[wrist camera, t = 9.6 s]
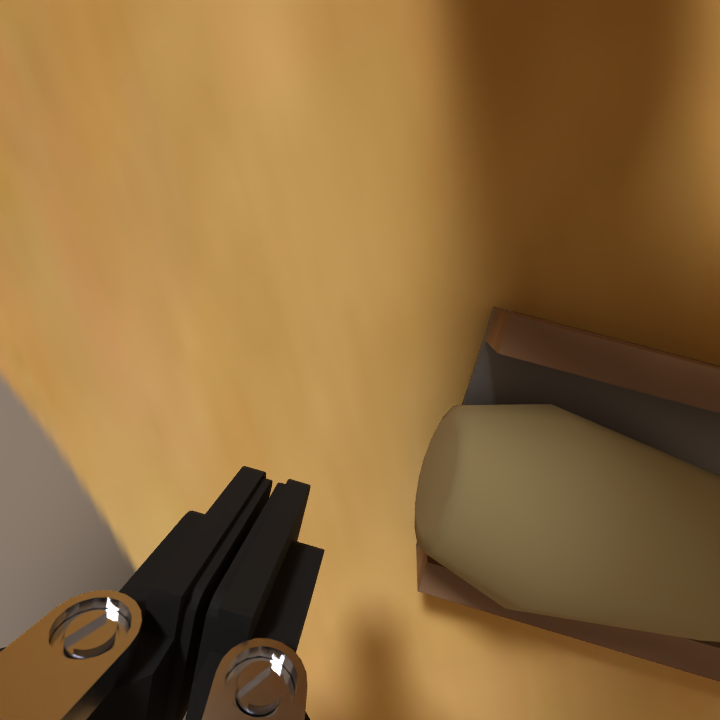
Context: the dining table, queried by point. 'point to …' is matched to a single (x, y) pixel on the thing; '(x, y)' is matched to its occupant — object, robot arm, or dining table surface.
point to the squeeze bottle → (572, 520)
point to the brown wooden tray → (609, 409)
